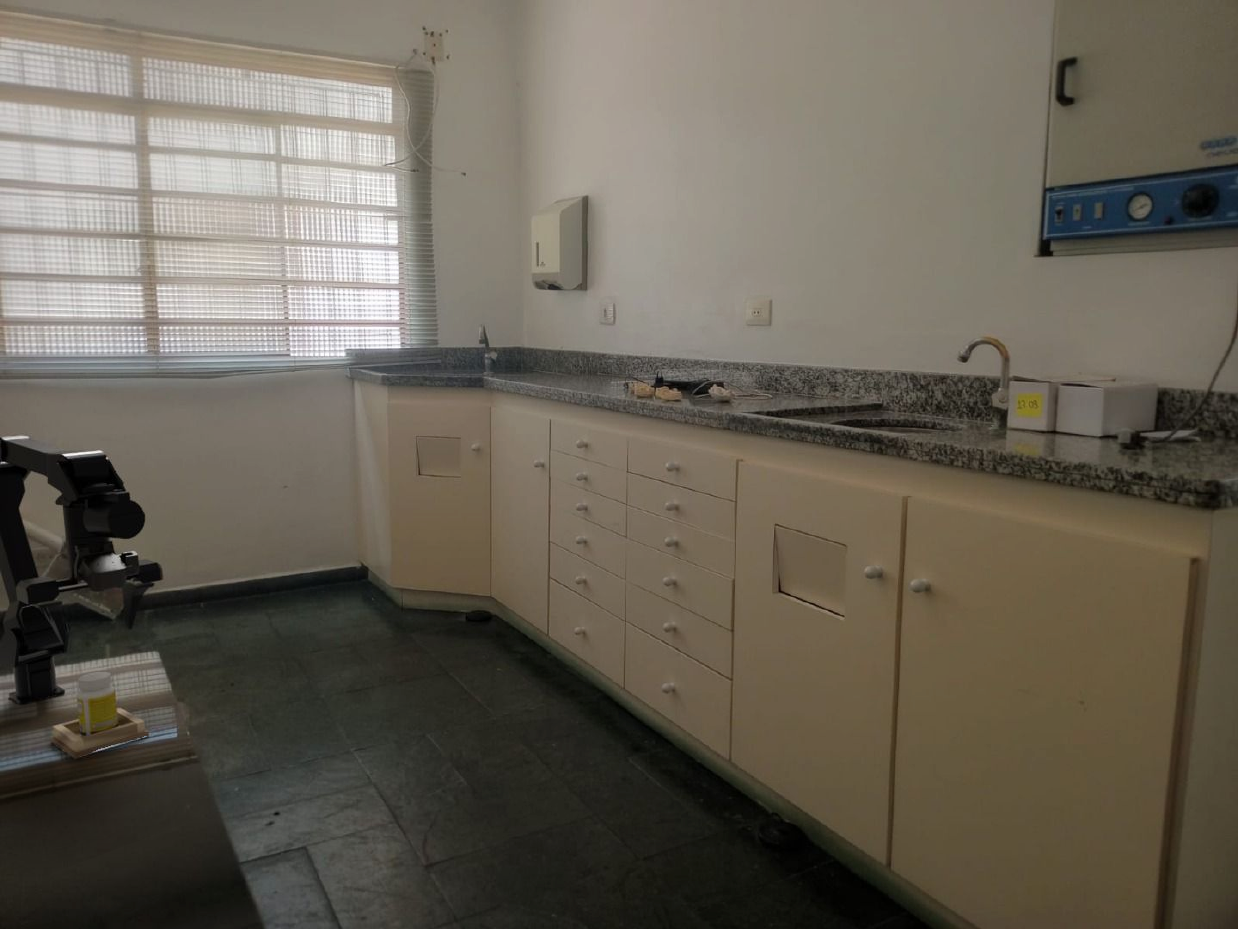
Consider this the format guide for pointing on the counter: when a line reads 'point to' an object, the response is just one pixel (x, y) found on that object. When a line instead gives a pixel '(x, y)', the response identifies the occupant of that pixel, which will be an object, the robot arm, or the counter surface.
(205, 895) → the counter surface
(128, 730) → the jig cradle
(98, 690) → the supplement bottle
